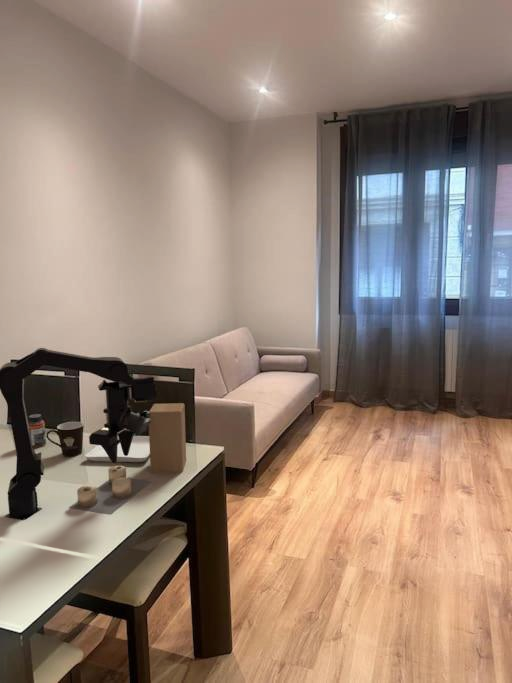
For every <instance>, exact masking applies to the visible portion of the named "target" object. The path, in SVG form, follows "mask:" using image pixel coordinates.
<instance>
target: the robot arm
mask: <svg viewBox="0 0 512 683" xmlns="http://www.w3.org/2000/svg"><path fill="white" fill-rule="evenodd" d="M43 366H47V367H55V368H60V369H67V370H71V371H77V372H83V373H89V374H92V375H96V376H97V377H100V378H101V379H102V381H101V383H100V384H98V386H97V387H98V390H99V391H105V399H106V400H105V401H106V402H105V403H106V407H105V408H104V409H103V410H102V412H103V413H104V414H106V416H107V417H106V420H107V422H106V423H104V424H103V425H104V426H103V427H104V428H105V429H98V430H95V431H94V432H92V433H90V435H89V436H88V439H89V440H88V441H89V442H88V443H89V444H90V445H95V446H97V445H101V446H102V447H103V449H104V450H105V452H106V453H107V455H108V456H109V458H110V460H111V461H112V462H111V463H112V464H117V463H118V462H117V446H118V444H119V443H120V444H121V448H122V451H123V454H124V455H125V456H127V455H128V454H129V450H130V446H131V442H132V439H133V436H141V434H142V433H145V432H146V431H147V429H148V427H149V424H150V423H151V421H150V413H149V411H148V410H144V411H142V412H141V413H140V412H137V413H135V412H134V411H133V410H134V409H133V406H132V405H129V398H130V400H133V401H134V403H142V402H143V403H144V402H151V401H157V398H158V397H157V389H156V383H155V377H154V376H153V375H149V376H148V375H147V376H144V377H143V376H142V377H141V376H140V377H134V376H133V375H132V374H131V373H129V370H128V365H127V364H126V363H125V362H124V360H123V359H122V358H121V357H116V356H100V357H92V356H91V357H90V356H87V355H81V354H74V353H69V352H64V351H63V352H62V351H57V350H52V349H48V348H45V347H39V348H37V349H36V350H34V351H33V352H31V353H29V354H28V355H26V356H24V357H22V358H20V359H17V361H15V362H13V361H12V362H7V363H4V364H3V365H1V367H0V392H1V395H2V396H3V398H4V400H5V403H6V405H7V409H8V410H7V411H8V416H9V420H10V426H11V431H12V436H13V442H14V448H15V451H16V468H15V475H14V476H13V477H11V478H10V480H9V484H8V490H7V502H8V504H7V505H8V514H6V515H5V516H4V518H9V519H14V520H20V521H26V520H27V519H29V518H31V517H32V516H34V515H36V514H37V513H38V512H40V511H42V509H43V508H42V507H38V506H39V503H38V492H37V487H38V485H40V483H41V481H42V476H44V470H45V465H44V463H43V461H42V452H37V453H36V452H35V450H34V448H33V447H32V442H31V436H30V431H29V425H28V422H29V419H28V415H27V409H26V404H25V400H24V398H25V397H24V394H25V392H24V390H25V388H24V387H25V378H27V377H29V376H30V375H31V374H33V373H35V371H37V370H38V369H40V368H41V367H43ZM107 380H109V381H110V382H108V381H107ZM119 382H122V383H119ZM128 388H129V389H128ZM128 390H129V392H128ZM117 436H118V437H119V440H118V437H117Z"/></svg>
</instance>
